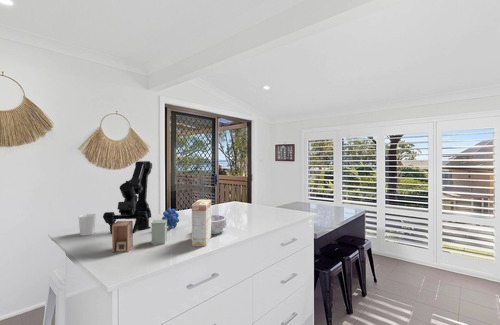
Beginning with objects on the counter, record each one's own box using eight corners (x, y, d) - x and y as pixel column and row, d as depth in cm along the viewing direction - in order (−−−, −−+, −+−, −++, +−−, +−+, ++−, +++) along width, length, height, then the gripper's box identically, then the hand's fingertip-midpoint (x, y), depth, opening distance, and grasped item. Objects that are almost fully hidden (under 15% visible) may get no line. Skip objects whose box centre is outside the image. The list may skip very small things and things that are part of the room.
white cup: (88, 236, 137) (87, 217, 137) (75, 235, 138) (74, 216, 138) (99, 232, 145) (99, 214, 144) (87, 231, 146) (87, 213, 146)
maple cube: (119, 248, 120) (119, 239, 120) (128, 248, 121) (128, 239, 120) (116, 251, 116) (116, 242, 116) (126, 251, 117) (126, 242, 116)
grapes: (167, 232, 145) (167, 210, 145) (159, 230, 149) (159, 209, 149) (183, 227, 155) (183, 207, 154) (176, 225, 159) (176, 205, 158)
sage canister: (154, 240, 131) (153, 220, 131) (167, 239, 132) (167, 219, 132) (151, 244, 125) (151, 223, 125) (165, 244, 126) (165, 222, 126)
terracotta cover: (117, 247, 121) (117, 221, 121) (132, 246, 122) (132, 220, 122) (112, 252, 115) (112, 225, 114) (128, 251, 115) (128, 224, 115)
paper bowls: (192, 233, 143) (192, 219, 142) (209, 227, 156) (209, 213, 156) (215, 237, 136) (215, 222, 135) (231, 230, 149) (231, 216, 149)
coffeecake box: (198, 236, 138) (198, 199, 138) (211, 236, 138) (211, 199, 137) (191, 246, 123) (191, 204, 123) (206, 246, 123) (206, 204, 122)
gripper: (104, 194, 121) (93, 224, 110) (146, 194, 124) (140, 223, 113) (110, 208, 129) (101, 237, 118) (150, 207, 132) (145, 236, 121)
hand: (122, 233), depth 117 cm, fingers open, 9 cm apart
